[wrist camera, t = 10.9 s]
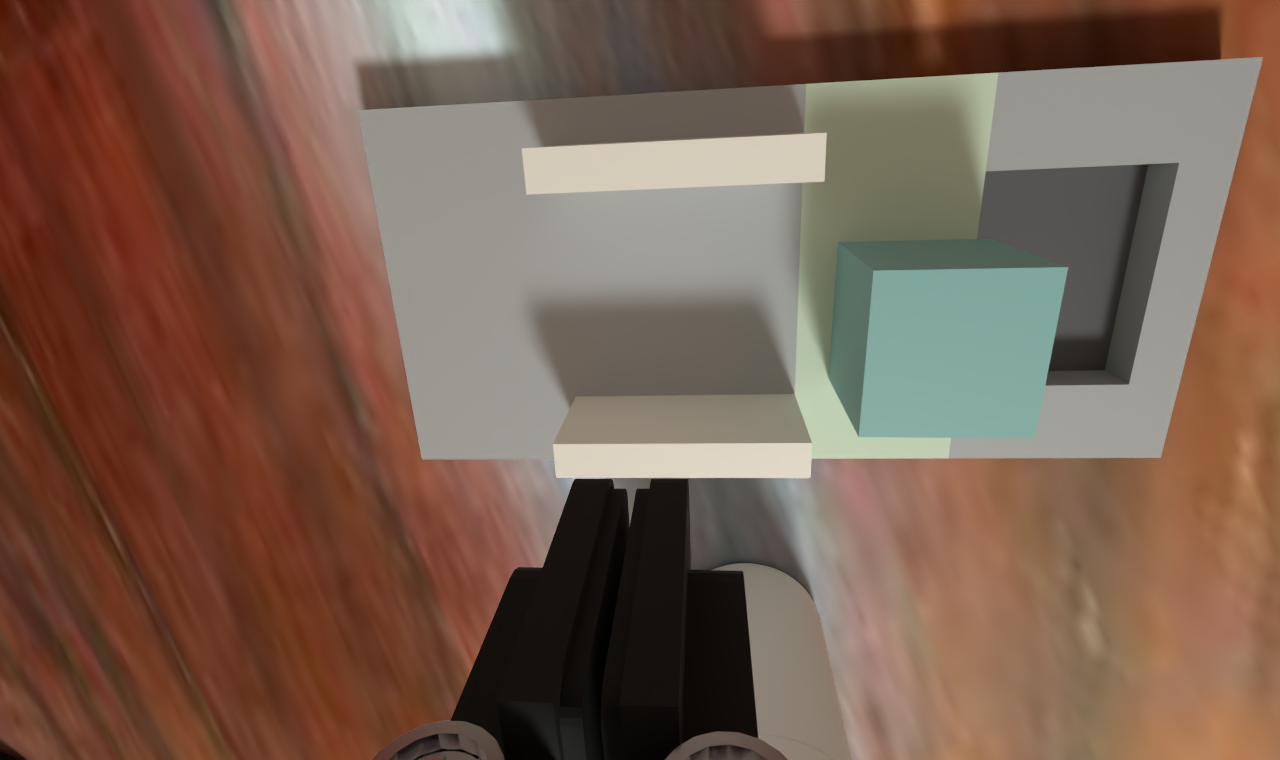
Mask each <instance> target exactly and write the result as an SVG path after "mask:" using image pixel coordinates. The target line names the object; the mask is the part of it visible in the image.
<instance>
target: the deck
mask: <svg viewBox="0 0 1280 760" xmlns="http://www.w3.org/2000/svg"><path fill="white" fill-rule="evenodd" d="M1262 59H1263V57H1255V58H1238V59H1221V60H1204V61H1187V62H1170V63H1153V64H1136V65H1119V66H1102V67H1085V68H1068V69H1051V70H1034V71H1017V72H1000V73H983V74H966V75H949V76H932V77H915V78H898V79H881V80H864V81H847V82H830V83H813V84H795V85H778V86H761V87H744V88H727V89H710V90H693V91H676V92H659V93H642V94H625V95H608V96H591V97H574V98H557V99H540V100H523V101H506V102H489V103H472V104H455V105H438V106H421V107H404V108H387V109H370V110H358V115H359V121H360V126H361V131H362V137H363V142H364V148H365V153H366V159H367V164H368V169H369V175H370V180H371V186H372V191H373V196H374V202H375V207H376V213H377V218H378V224H379V229H380V234H381V240H382V245H383V251H384V256H385V261H386V267H387V272H388V278H389V283H390V289H391V294H392V299H393V305H394V310H395V316H396V321H397V326H398V332H399V337H400V343H401V348H402V354H403V359H404V364H405V370H406V375H407V381H408V386H409V391H410V397H411V402H412V408H413V413H414V419H415V424H416V429H417V435H418V440H419V446H420V451H421V456H422V459H554V460H555V470H556V478H810V475H811V458H1161V454H1162V450H1163V446H1164V442H1165V439H1166V435H1167V431H1168V427H1169V423H1170V419H1171V415H1172V411H1173V407H1174V403H1175V399H1176V396H1177V392H1178V388H1179V384H1180V380H1181V376H1182V372H1183V368H1184V364H1185V360H1186V356H1187V353H1188V349H1189V345H1190V341H1191V337H1192V333H1193V329H1194V325H1195V321H1196V317H1197V313H1198V310H1199V306H1200V302H1201V298H1202V294H1203V290H1204V286H1205V282H1206V278H1207V274H1208V270H1209V267H1210V263H1211V259H1212V255H1213V251H1214V247H1215V243H1216V239H1217V235H1218V231H1219V228H1220V224H1221V220H1222V216H1223V212H1224V208H1225V204H1226V200H1227V196H1228V192H1229V188H1230V185H1231V181H1232V177H1233V173H1234V169H1235V165H1236V161H1237V157H1238V153H1239V149H1240V145H1241V142H1242V138H1243V134H1244V130H1245V126H1246V122H1247V118H1248V114H1249V110H1250V106H1251V102H1252V99H1253V95H1254V91H1255V87H1256V83H1257V79H1258V75H1259V71H1260V67H1261V63H1262ZM955 239H993V240H996V241H998V242H1001V243H1004V244H1006V245H1009V246H1012V247H1015V248H1017V249H1020V250H1023V251H1026V252H1028V253H1031V254H1034V255H1037V256H1039V257H1042V258H1045V259H1047V260H1050V261H1053V262H1056V263H1058V264H1061V265H1064V266H1067V267H1068V271H1067V276H1066V281H1065V287H1064V292H1063V297H1062V302H1061V307H1060V312H1059V318H1058V323H1057V328H1056V333H1055V338H1054V343H1053V349H1052V354H1051V359H1050V364H1049V369H1048V374H1047V380H1046V385H1045V390H1044V395H1043V400H1042V405H1041V410H1040V416H1039V421H1038V426H1037V431H1036V436H1035V438H908V437H858V435H857V433H856V431H855V429H854V427H853V425H852V423H851V421H850V419H849V417H848V415H847V413H846V412H845V410H844V408H843V406H842V404H841V402H840V400H839V398H838V396H837V394H836V392H835V390H834V388H833V386H832V384H831V382H830V380H829V366H830V351H831V337H832V322H833V308H834V294H835V279H836V265H837V250H838V242H865V241H910V240H955Z"/></svg>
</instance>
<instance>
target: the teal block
mask: <svg viewBox="0 0 1280 760" xmlns="http://www.w3.org/2000/svg"><path fill="white" fill-rule="evenodd" d="M1067 271H1068V267H1067V266H1064V265H1061V264H1058V263H1056V262H1053V261H1050V260H1047V259H1045V258H1042V257H1039V256H1037V255H1034V254H1031V253H1028V252H1026V251H1023V250H1020V249H1017V248H1015V247H1012V246H1009V245H1006V244H1004V243H1001V242H998V241H996V240H993V239H955V240H910V241H865V242H838V250H837V265H836V279H835V294H834V308H833V322H832V337H831V351H830V366H829V380H830V382H831V384H832V386H833V388H834V390H835V392H836V394H837V396H838V398H839V400H840V402H841V404H842V406H843V408H844V410H845V412H846V413H847V415H848V417H849V419H850V421H851V423H852V425H853V427H854V429H855V431H856V433H857V435H858V437H908V438H1035V436H1036V431H1037V426H1038V421H1039V416H1040V410H1041V405H1042V400H1043V395H1044V390H1045V385H1046V380H1047V374H1048V369H1049V364H1050V359H1051V354H1052V349H1053V343H1054V338H1055V333H1056V328H1057V323H1058V318H1059V312H1060V307H1061V302H1062V297H1063V292H1064V287H1065V281H1066V276H1067Z"/></svg>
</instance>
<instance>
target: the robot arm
mask: <svg viewBox="0 0 1280 760" xmlns="http://www.w3.org/2000/svg"><path fill="white" fill-rule="evenodd" d="M373 760H788V759H787V758H786V757H785V756H784V755H783V754H782V753H781V752H780V751H778V750H777V749H775V748H774V747H772V746H771V745H769V744H767V743H766V742H764V741H763V740H761V739H758V728H757V716H756V705H755V694H754V683H753V672H752V661H751V650H750V639H749V628H748V616H747V605H746V594H745V583H744V574H743V571H725V570H691V552H690V515H689V483H688V479H651V483H650V489H637V490H636V495H635V501H634V506H633V512H632V518H631V523H630V526H629V511H628V497H627V490H626V489H614V484H613V480H612V479H575V480H574V482H573V484H572V487H571V489H570V492H569V495H568V498H567V501H566V504H565V506H564V509H563V512H562V515H561V518H560V520H559V523H558V526H557V529H556V532H555V535H554V537H553V540H552V543H551V546H550V549H549V552H548V554H547V557H546V560H545V563H544V566H543V568H525V567H518V568H517V569H515V570H514V572H513V573H512V575H511V577H510V579H509V582H508V584H507V586H506V589H505V591H504V594H503V596H502V598H501V601H500V603H499V606H498V608H497V610H496V613H495V615H494V618H493V620H492V622H491V625H490V627H489V630H488V632H487V634H486V637H485V639H484V642H483V644H482V646H481V649H480V651H479V654H478V656H477V658H476V661H475V663H474V666H473V668H472V670H471V673H470V675H469V678H468V680H467V682H466V685H465V687H464V690H463V692H462V694H461V697H460V699H459V702H458V704H457V706H456V709H455V711H454V714H453V716H452V718H451V721H440V722H436V723H431V724H427V725H423V726H420V727H418V728H416V729H414V730H412V731H410V732H407V733H405V734H403V735H401V736H399V737H398V738H397V739H395V740H394V741H393V742H391V743H390V744H389V745H387V746H386V747H385V748H383V749H382V750H381V751H380V752H379V753H378V754H377V755H376V756H375V757H374V758H373Z"/></svg>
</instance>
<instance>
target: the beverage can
mask: <svg viewBox="0 0 1280 760" xmlns="http://www.w3.org/2000/svg"><path fill="white" fill-rule="evenodd" d="M0 760H16V759H14V758H12V757H10V756H8V755H5V754H2V753H0Z"/></svg>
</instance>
